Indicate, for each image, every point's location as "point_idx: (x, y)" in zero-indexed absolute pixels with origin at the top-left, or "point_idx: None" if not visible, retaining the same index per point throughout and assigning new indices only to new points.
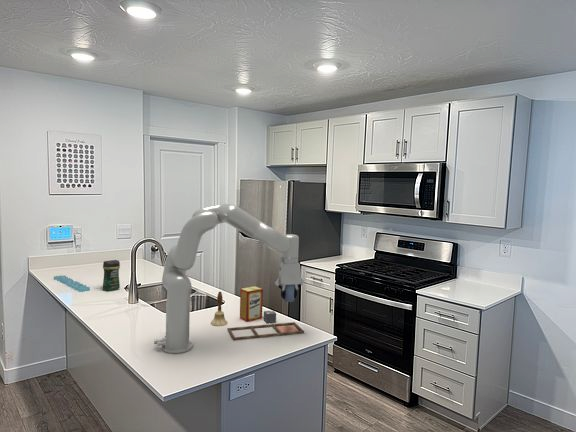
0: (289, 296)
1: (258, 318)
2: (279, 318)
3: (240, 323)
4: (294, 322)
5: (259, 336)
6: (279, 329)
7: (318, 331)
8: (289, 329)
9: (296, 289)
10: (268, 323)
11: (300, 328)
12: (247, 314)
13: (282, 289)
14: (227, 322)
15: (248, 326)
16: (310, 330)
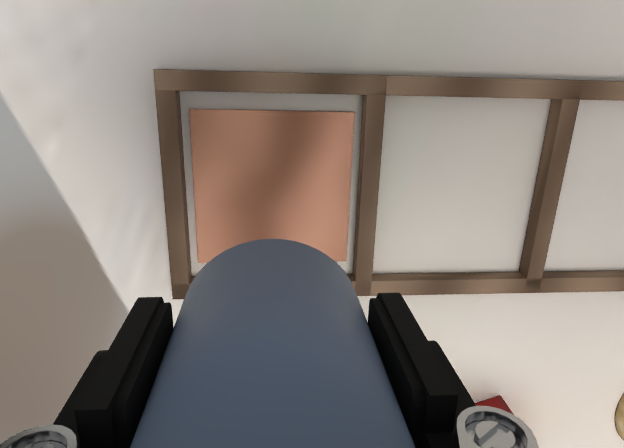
0: (303, 285)
1: None
2: None
3: (548, 378)
4: (175, 291)
5: (561, 80)
6: (339, 202)
7: (7, 78)
8: (259, 183)
9: (61, 444)
10: None
11: (167, 147)
12: None
13: (511, 445)
14: (620, 404)
15: (552, 288)
16: (78, 122)
